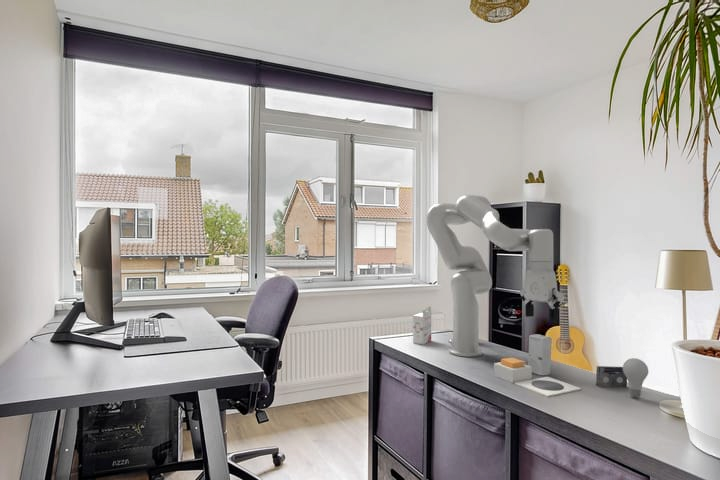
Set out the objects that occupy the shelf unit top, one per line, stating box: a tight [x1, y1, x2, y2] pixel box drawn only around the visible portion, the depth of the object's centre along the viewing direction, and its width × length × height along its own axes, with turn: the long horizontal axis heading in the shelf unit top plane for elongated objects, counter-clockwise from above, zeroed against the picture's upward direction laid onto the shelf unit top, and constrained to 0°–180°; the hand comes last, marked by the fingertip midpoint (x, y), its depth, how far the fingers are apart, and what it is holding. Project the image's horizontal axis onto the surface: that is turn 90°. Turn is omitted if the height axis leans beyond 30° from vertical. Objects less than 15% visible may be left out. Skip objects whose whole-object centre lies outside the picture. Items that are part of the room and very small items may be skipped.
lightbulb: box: [622, 357, 649, 399], centre depth 125 cm, size 6×6×11 cm
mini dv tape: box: [595, 365, 628, 389], centre depth 135 cm, size 8×2×6 cm, turn 86°
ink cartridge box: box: [412, 306, 432, 345], centre depth 189 cm, size 9×5×15 cm, turn 147°
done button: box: [500, 356, 525, 368], centre depth 142 cm, size 5×5×3 cm
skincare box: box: [527, 333, 553, 376], centre depth 148 cm, size 6×4×12 cm
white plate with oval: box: [514, 376, 582, 398], centre depth 134 cm, size 12×14×1 cm
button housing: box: [493, 361, 533, 384], centre depth 143 cm, size 8×8×4 cm
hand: (541, 318), depth 147 cm, fingers open, 9 cm apart
